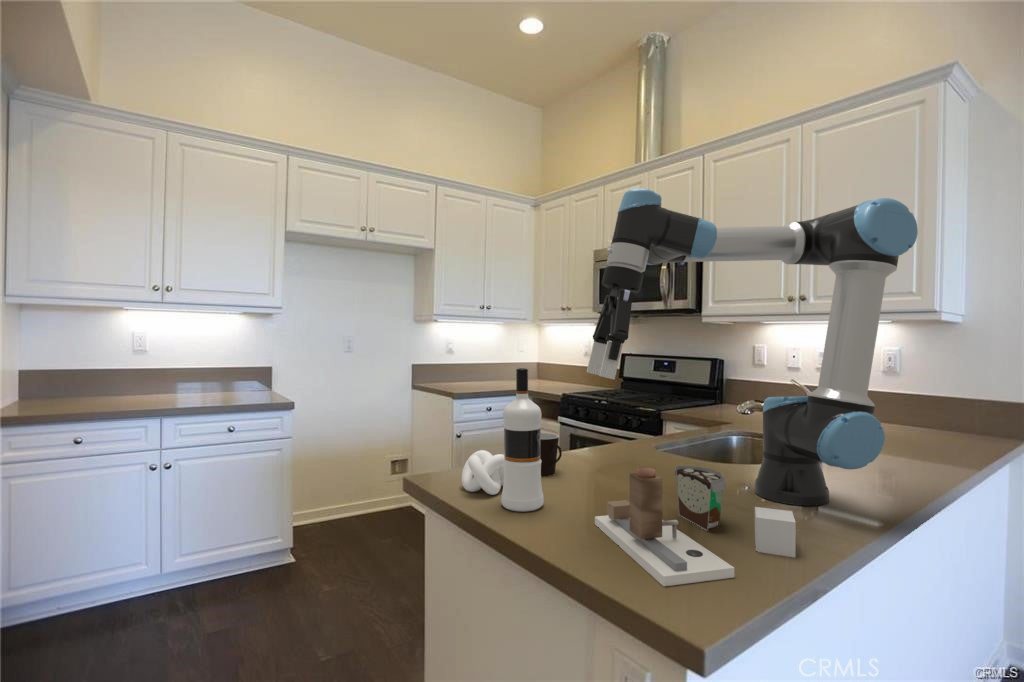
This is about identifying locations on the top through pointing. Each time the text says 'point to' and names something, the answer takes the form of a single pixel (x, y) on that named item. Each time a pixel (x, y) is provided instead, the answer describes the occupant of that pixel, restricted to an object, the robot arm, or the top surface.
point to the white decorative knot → (483, 472)
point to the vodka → (522, 450)
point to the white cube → (775, 531)
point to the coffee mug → (549, 453)
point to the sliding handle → (647, 505)
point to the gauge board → (663, 550)
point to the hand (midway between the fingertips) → (599, 375)
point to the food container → (700, 495)
